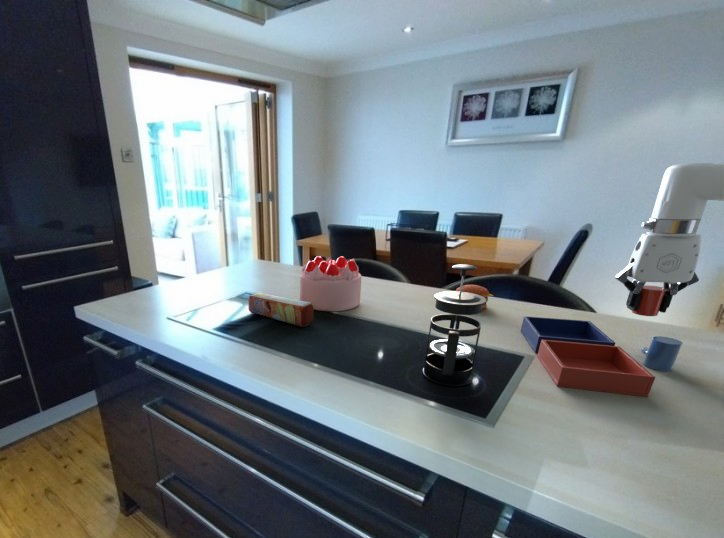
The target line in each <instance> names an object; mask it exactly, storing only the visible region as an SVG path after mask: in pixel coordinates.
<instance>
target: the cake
mask: <svg viewBox="0 0 724 538" xmlns="http://www.w3.org/2000/svg"><path fill="white" fill-rule="evenodd" d="M359 271H360V270H359V266H358V265H357V263H356V259H355V258H354V257H353V258H352V259H349V260H348V261H347V259H346V257H345V256H343V255H342V256H339V257H338V258H337V259H336V260H334V259H332V258H331V257H330V256H327V260H324V259H323V257H322V256H321V255H317V256H316V257H315V258H314V260H311V258H308V260H307V261H306V263H305V264H304V266H303V267H302V269H301V273H300V275H299V301H304V302H310V303H312V305H313V310H314V311H319V312H321V311H322V312H342V311H347V310H352V309H355V308H357V307H358V306H359V304H360V303H361V291H362V274H361V273H360V272H359Z"/></svg>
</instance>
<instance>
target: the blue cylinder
mask: <svg viewBox="0 0 724 538" xmlns="http://www.w3.org/2000/svg"><path fill="white" fill-rule="evenodd" d="M682 346H683V342H682V341H681V340H679V339H677V338H673V337H668V336H661V335H655V336H653V337H652V339H651V341H650V344H649V347H642V348H641V350H640V352H641V353H642V354H644V355H645V358H644V360H643V365H644V367H646V368H648V369H651V370H655V371H660V372H670V371H671V372H672V370H673V367H674V365H675V363H676V360H677V358H678V355H679V353H680V351H681V348H682Z"/></svg>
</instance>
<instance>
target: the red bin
mask: <svg viewBox="0 0 724 538" xmlns="http://www.w3.org/2000/svg"><path fill="white" fill-rule="evenodd" d="M537 358H538V360H539V361H540V363H541V364H542V365H543V367H544V369H545V370H546V372H547V373H548V375H549V376H550V378H551V380H552V381H553V382H554V384H555V385H556V387H561V388H569V389H577V390H586V391H593V392H603V393H612V394H620V395H627V396H636V397H645V398H648V397H649V394H650V392H651V389H652V387H653V385H654V382H655V380H656V376H655V375H653V374H652V373H651V372H650V371H649V370H648V369H646V368H645V366H643V365H642V364H641V363H640V362H638V361H637V360H636V359H635V358H634V357H632V356H631V355H630V354H629V353H628V352H626V351H625V350H624V349H623V348H622V347H621V346H619V345H615V346H609V345H597V344H586V343H575V342H564V341H552V340H541V343H540V347H539V351H538V353H537Z"/></svg>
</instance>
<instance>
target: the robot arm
mask: <svg viewBox="0 0 724 538" xmlns="http://www.w3.org/2000/svg"><path fill="white" fill-rule="evenodd" d="M708 201H718V202H719V201H721V202H724V162H723V163H712V162H693V163H691V162H690V163H677V164H673V165H671V166H669V167H668V168H666V170H665V171H664V173H663V177H662V179H661V183H660V187H659V190H658V193H657V197H656V199H655V203H654V206H653V210H652V213H651V216H650V218H649V219H648V220H647V221H642V222H641V224H640V229H645V231H646V232H643V233H642V234H641V236H639V239H638V240H637V242H636V244H635V246H634V249H633V250H632V253H631V256H630V258H629V261H628V264H627V266H626V267H625V268H624V269H622V270H621V271H620V272H619V273H617V274H616V275H615V276H614V278H615V280H616V281H618V282H619V283H621V284H622V285H623V286H624V287H625V288H626V289H627V291H629V292H628V295H627V299H626V302H625V305H626V309H629V310H630V311H631V312H632V311H637V310H638V307H639V304H640V300H641V297H642V295H641V294H640V291H641V290H642V288H643V286H644V285H646V283H663V286H662V287H663V288H665V289H666V292H665V295H664V298H663V301H662V304H661V307H660V310H659V312H660V313H663V314H664V313H667V309H668V308H670V305H671V303H672V299H673V298H674V297H673V296H676V295H678V293H679V292H681V291H682V290H684V289H686V288H687V287H690V286H692V285H694V284H696V283H698V282H700V278H699V277H698V275H697V273H696V268H697V265H698V262H699V257H700V251H701V242H702V240H701V239H702V235H701V234H698V233H697V232H698V229H699V227H700V223H701V220H702V217H703V215H704V213H705V209H706V206H707V203H708ZM628 277H629V278H632V280H630V279H628Z"/></svg>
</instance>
